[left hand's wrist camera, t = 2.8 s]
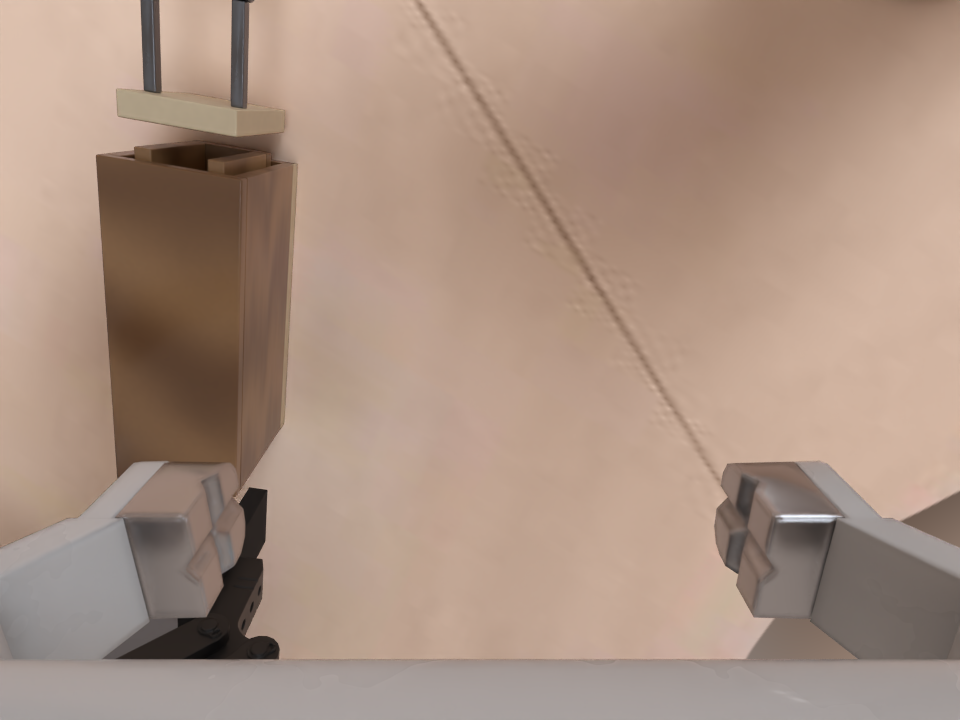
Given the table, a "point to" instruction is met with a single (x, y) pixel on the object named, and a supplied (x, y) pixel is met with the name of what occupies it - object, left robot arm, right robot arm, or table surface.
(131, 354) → the tall brown box
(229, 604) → the right robot arm
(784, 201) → the table surface
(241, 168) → the drawer
